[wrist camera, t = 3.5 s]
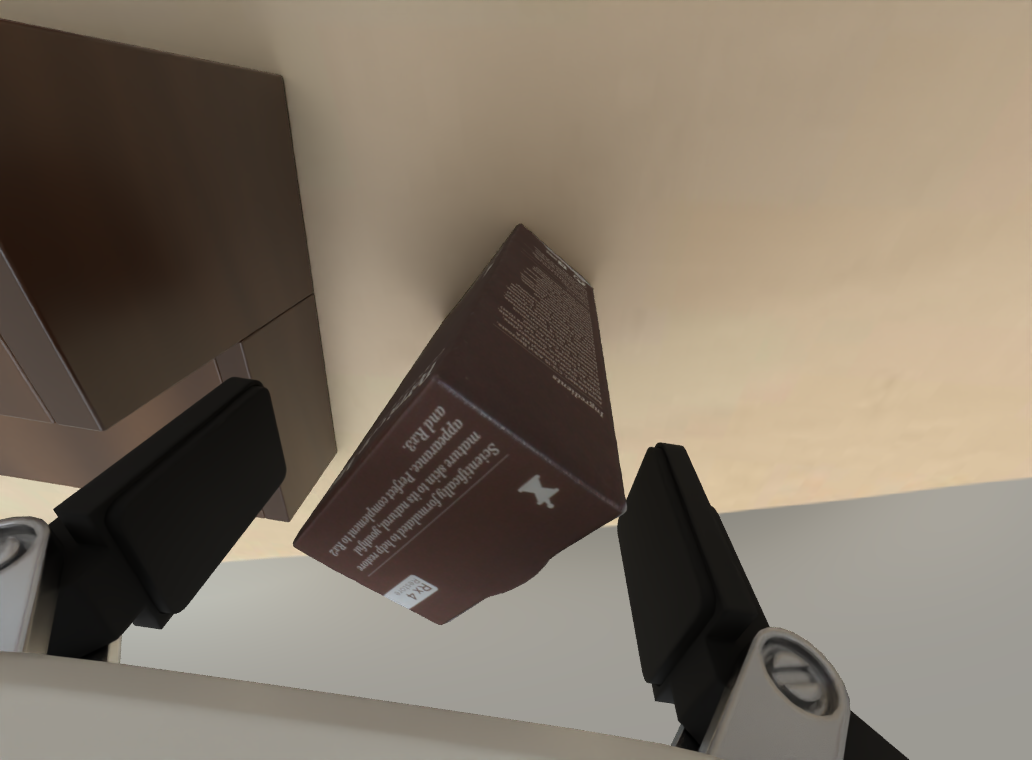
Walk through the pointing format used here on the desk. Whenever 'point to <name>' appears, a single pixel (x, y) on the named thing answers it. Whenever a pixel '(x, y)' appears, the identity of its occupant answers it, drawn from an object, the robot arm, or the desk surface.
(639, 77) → the desk surface
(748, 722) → the robot arm
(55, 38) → the step shelf
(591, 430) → the box
